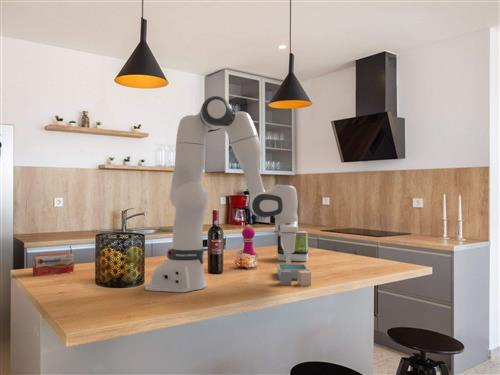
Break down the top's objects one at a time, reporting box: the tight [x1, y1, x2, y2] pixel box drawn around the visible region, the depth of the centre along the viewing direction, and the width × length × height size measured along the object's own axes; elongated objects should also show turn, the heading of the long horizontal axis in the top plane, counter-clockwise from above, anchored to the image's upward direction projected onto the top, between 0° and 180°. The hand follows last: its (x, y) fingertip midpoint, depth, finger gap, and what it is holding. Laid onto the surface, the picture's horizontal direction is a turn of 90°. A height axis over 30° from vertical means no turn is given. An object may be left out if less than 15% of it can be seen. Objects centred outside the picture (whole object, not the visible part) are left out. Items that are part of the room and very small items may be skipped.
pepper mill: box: [241, 224, 256, 255], centre depth 192 cm, size 7×7×20 cm
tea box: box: [276, 230, 309, 262], centre depth 214 cm, size 15×10×15 cm
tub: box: [277, 263, 310, 281], centre depth 172 cm, size 12×13×4 cm
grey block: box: [279, 270, 292, 286], centre depth 158 cm, size 4×4×5 cm
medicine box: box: [32, 252, 75, 277], centre depth 176 cm, size 15×8×8 cm, turn 125°
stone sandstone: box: [296, 270, 312, 287], centre depth 157 cm, size 4×4×5 cm
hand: (287, 261), depth 158 cm, fingers open, 8 cm apart
